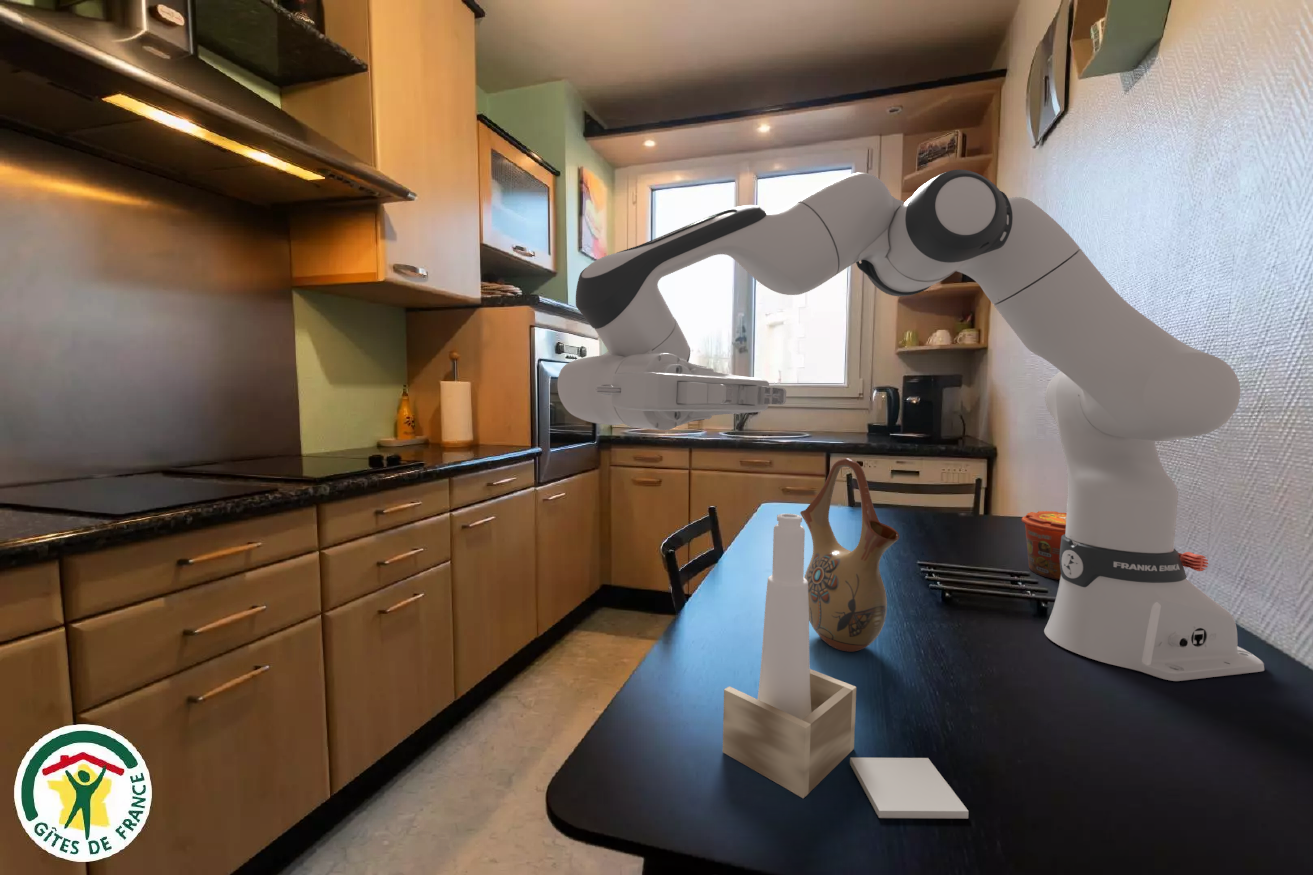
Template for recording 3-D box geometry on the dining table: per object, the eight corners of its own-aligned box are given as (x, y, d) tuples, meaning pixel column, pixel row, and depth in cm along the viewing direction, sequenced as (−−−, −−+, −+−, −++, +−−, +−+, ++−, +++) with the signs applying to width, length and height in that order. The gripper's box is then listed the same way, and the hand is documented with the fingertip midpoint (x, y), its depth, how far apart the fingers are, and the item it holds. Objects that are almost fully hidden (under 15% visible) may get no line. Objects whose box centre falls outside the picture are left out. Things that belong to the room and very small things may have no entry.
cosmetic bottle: (829, 762, 50) (838, 521, 48) (769, 774, 48) (776, 524, 47) (794, 723, 56) (801, 507, 54) (739, 733, 54) (744, 510, 52)
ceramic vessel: (916, 665, 68) (926, 463, 66) (860, 679, 65) (869, 466, 63) (825, 616, 83) (831, 451, 81) (776, 626, 80) (781, 453, 78)
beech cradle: (722, 752, 51) (724, 689, 51) (777, 712, 58) (778, 656, 57) (803, 798, 45) (805, 727, 45) (853, 748, 52) (856, 686, 51)
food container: (999, 562, 112) (1002, 510, 112) (1071, 561, 114) (1075, 509, 113) (1066, 590, 97) (1070, 529, 96) (1148, 587, 98) (1153, 528, 97)
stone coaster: (927, 764, 50) (928, 757, 50) (968, 818, 43) (968, 811, 43) (849, 763, 50) (850, 757, 50) (879, 817, 43) (879, 810, 43)
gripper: (587, 358, 57) (689, 355, 47) (712, 369, 71) (809, 368, 62) (585, 419, 57) (686, 429, 48) (710, 418, 72) (806, 425, 62)
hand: (756, 395), depth 55 cm, fingers open, 8 cm apart
